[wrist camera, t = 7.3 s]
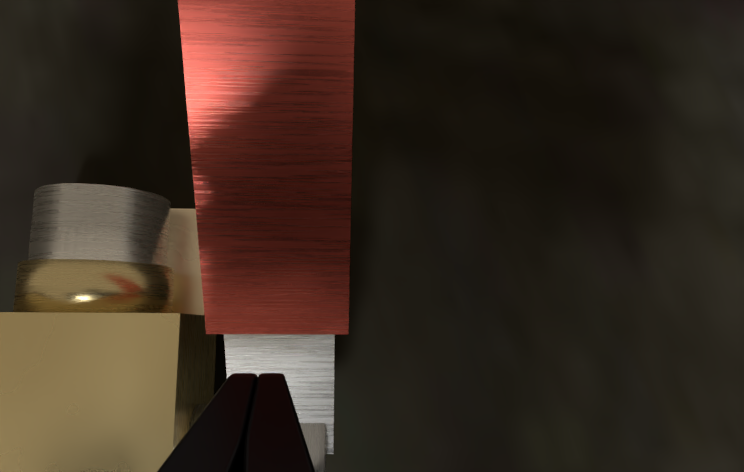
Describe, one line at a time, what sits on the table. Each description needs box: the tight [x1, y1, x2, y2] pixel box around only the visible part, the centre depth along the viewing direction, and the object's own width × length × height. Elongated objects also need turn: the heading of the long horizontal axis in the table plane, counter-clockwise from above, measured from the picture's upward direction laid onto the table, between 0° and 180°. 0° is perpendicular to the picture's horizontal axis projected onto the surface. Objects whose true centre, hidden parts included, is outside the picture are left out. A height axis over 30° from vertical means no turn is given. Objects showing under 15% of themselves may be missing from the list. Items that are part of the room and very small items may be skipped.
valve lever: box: [178, 0, 355, 472], centre depth 13 cm, size 2×3×13 cm
